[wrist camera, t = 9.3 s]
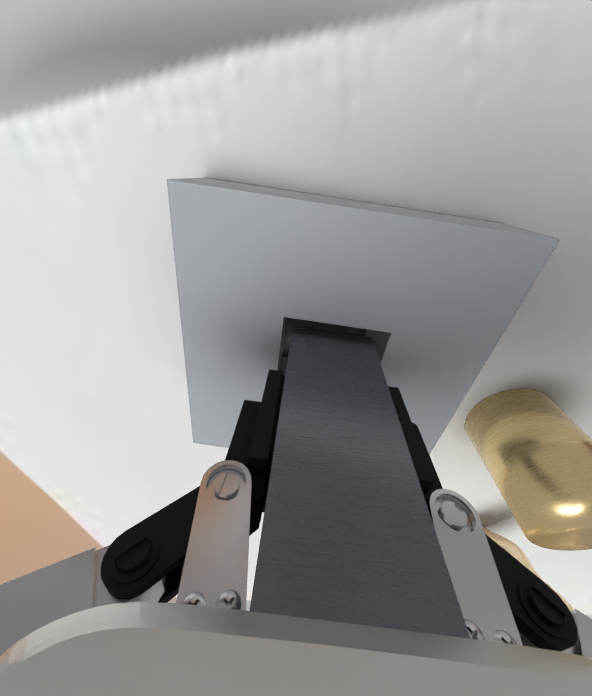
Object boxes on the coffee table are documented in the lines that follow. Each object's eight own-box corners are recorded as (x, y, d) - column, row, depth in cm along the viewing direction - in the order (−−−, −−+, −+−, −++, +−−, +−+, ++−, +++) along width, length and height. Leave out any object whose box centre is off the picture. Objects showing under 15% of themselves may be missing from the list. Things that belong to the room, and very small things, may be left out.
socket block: (498, 222, 13) (559, 239, 10) (401, 425, 21) (417, 474, 17) (205, 177, 13) (166, 179, 10) (213, 398, 21) (193, 442, 17)
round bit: (572, 395, 18) (692, 501, 12) (524, 450, 21) (602, 556, 15) (488, 383, 18) (569, 483, 12) (451, 439, 21) (503, 542, 15)
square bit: (371, 337, 13) (481, 673, 4) (352, 396, 15) (402, 706, 6) (292, 325, 13) (244, 643, 4) (284, 386, 15) (240, 686, 6)
